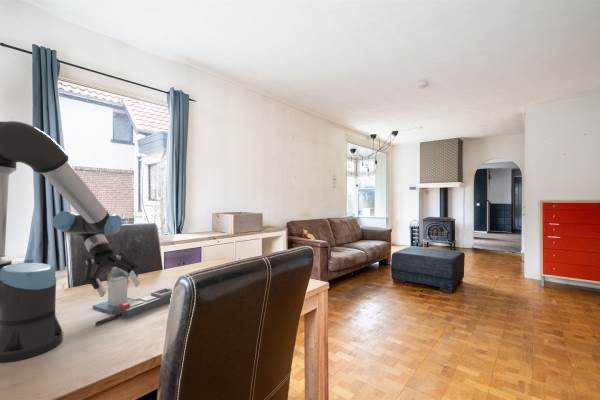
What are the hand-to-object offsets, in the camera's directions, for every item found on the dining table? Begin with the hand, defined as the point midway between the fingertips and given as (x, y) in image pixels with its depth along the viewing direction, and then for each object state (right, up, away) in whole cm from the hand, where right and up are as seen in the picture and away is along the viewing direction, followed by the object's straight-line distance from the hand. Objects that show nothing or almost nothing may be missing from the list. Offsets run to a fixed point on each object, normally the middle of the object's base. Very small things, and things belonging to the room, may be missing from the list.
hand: (121, 289), depth 113 cm
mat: (-2, -7, +1) cm, 7 cm away
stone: (-22, -7, +34) cm, 41 cm away
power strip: (+9, -7, -2) cm, 11 cm away
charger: (-2, -6, +1) cm, 6 cm away
